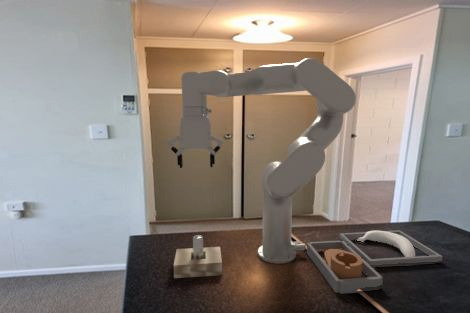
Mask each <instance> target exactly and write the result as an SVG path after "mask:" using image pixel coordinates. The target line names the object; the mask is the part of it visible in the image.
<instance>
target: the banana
mask: <svg viewBox="0 0 470 313" xmlns="http://www.w3.org/2000/svg"><path fill="white" fill-rule="evenodd" d="M386 231H387V230H369V231H366V232H367V233H366V234H365V235H364V236H363V237H360V238H358V239H357V241H361V242H363V243H364V242H365V241H366V240H367V241H371V242H376V241H377V243H381V244H386V243H387V244H386V245H390V246H392V245H393V247H395V248H397V249H398V250H400V252H401V253H402V255H403V257H415V256H416V249H415V248H414V247H413V245H412V243H411V242H410V241H409V240H408V239H406V238H405V237H403V236H401V235H398V234H395V233H391V232H386ZM361 242H360V243H361Z"/></svg>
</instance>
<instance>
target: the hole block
mask: <svg viewBox="0 0 470 313" xmlns="http://www.w3.org/2000/svg"><path fill="white" fill-rule="evenodd" d="M221 250H222V249H221V246H209V247H207V246H206V247H203V259H194V254H193V247H191V248H176V252H175V255H174V256H175V257H174V260H173V261H174V262H173V279H181V278H184V279H185V278H195V277H196V278H197V277H198V278H199V277H211V276H214V277H215V276H223V260H222V252H221Z"/></svg>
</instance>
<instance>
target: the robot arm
mask: <svg viewBox="0 0 470 313" xmlns="http://www.w3.org/2000/svg"><path fill="white" fill-rule="evenodd" d="M305 91H306V92H308V93H309V95H311V96H312V97H313V98H315V99H316V102H315V103H316V108H317V113H316V118H315V119H314V120H313V122H312V123H311V124H310V125H309V127H307V129H305V131H303V132H302V133H301V134H300V136H298V137H297V138H296V139H295V140H294V141H292V142H291V143H290V145H289V146H288V148H287V153H286V155H287V157H286V158H284V159H283V161H271V162H269V163H268V164H267V165H266V166H265V167H264V169H263V171H262V175H261V180H262V181H261V183H262V184H261V185H262V239H261V240H262V244H261V245H260V246H259V247H258V249H257V256H258V257H259V258H260V259H261V260H262V261H264V262H267V263H270V264H276V265H277V264H278V265H279V264H287V263H291V262H292V261H293V260H295V258H296V254H297V253H296V252H297V251H303V250H305V251H306V250H307V246H306V244H305V243H300V242H299V241H298V240H297V241H293V240H292V225H293V224H292V221H293V219H292V218H293V197H294V196H295V195H296V194H297V193H298V192H299V191H300V190H302V188H304V187H305V186H306V185H307V184H308V183H309V182H310V181H311V180H312V179H313V178H314V177H315V176H317V174H318V173H319V172H320V171H321V169H322V168H323V166H324V164H325V162H326V153H325V150H326V149H327V148H329V146H330V145H331V144H332V143H333V142H334V141H335V140H336V138H337V137H338V136H339V134H340V132H341V130H342V128H343V122H344V114H348V112H350V111H351V110H352V109H353V108H354V107H355V104H356V101H357V97H356V92H355V91H354V89H353V88H352V86H351V85H350V84H348V83H347V81H345V80H343V78H341V77H340V76H339V75H337V74H336V72H334V71H333V70H332V69H330V68H329V67H328V66H327V65H325V64H324V63H323V62H322V61H320V60H318V59H316V58H313V57H308V58H304V59H302V60H300V61H299V62H291V63H282V64H281V63H279V64H267V65H262V66H258V67H256V68H253V69H251V70H247V71H241V72H233V73H227V72H225V71H223V70H220V69H218V70H217V69H216V70H215V69H214V70H208V71H186V72H183V73H182V74H181V97H182V98H181V105H182V106H181V108H182V117H180V119H179V129H178V130H179V131H178V132H179V134H178V136H176V137H174V138H172V139H170V140H168V142H167V145H168V146H169V148H170V149H171V151H172V152H173V153H174V154H175V155H176V157H177V158H176V161H177V166H179V168H180V169H182V168H183V166H184V164H183V163H184V162H183V154H182V153H183V152H184V150H185V151H187V150H188V151H190V150H192V151H193V150H208V152H209V153H210V154H209V162H210V163H209V167H210V168H213V167H214V166H213V165H215V164H216V162H215V161H216V160H215V155H216V153H217V152H219V150H220V149H221V147H222V145H223V143H224V141H223V139H221V138H219V137H216V136H214V135H213V134H212V125H211V119H210V117H208V115H209V114H210V115H211V114H212V108H211V109H210V108H208V107H207V106H208V104H207V102H208V101H207V95H208V96H213V97H217V98H229V97H241V96H250V95H251V96H261V95H271V94H272V95H273V94H282V93H283V94H284V93H294V92H295V93H296V92H305ZM177 142H178V144H179V149H178V148H176V147H175V145H174V143H177ZM213 142H216V143H217V144H216V146H215V147H214V148H213V147H212V145H213V144H212V143H213Z"/></svg>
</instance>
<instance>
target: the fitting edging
mask: <svg viewBox="0 0 470 313" xmlns="http://www.w3.org/2000/svg"><path fill="white" fill-rule="evenodd" d="M328 248H342V249H343V250H344V251H347V252H351V253H354V254H356V255H358V254H357V253H356V252H355V251H354V250H353V249H352V248H351V247H350V246H348V245H347V244H346V243H345V242H344V241H340V240H326V241H325V240H323V241H309V242H307V243H306V254H307V256H308V257H309V258H310V260H311V261H312V262H313V263H314V265H315V266H316V268H317V269H318V271H319V272H320V273H321V274H322V276H323V277H324V279H325V280H326V281H327V283H328V285H329V286H330V287H331V289H332V290H333V291H334V292H335V294H338V293H339V294H340V295H343V294H354V293H358V292H357V290H358V289H360V288H365V287H377V286H380V285H382V286H383V281H384V280H383V279H384V278H383V276H382V275H381V274H380V273H379V272H377V270H375V268H372V267H371V266H370V265H369V264H368V263H367V262H366V261H365V260H364V259H362V258H361V259H362V269H363V270H364V271H365V272H366V273H367V274H368V275H369V276H370V277H366V276H365V277H361V278H352V279H338V277H337V276H336V275H335V274H334V272H333V271H332V270H331V269H330V267H329V266H328V265H327V264H326V262H325V261H324V258H323V257H322V256H321V254H320V253H318V252H317V251H316V250H315V249H328ZM358 256H359V255H358ZM359 257H360V256H359Z"/></svg>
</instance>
